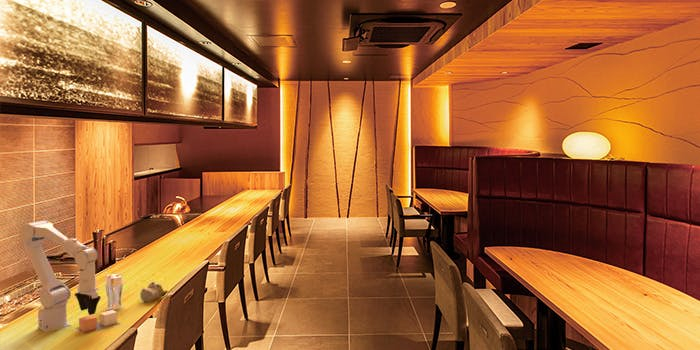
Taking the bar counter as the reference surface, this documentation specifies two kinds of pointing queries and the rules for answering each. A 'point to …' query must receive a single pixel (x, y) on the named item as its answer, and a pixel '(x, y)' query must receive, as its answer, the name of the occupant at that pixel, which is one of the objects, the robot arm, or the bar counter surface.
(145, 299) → the ceramic sculpture
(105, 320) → the cream block
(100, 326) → the baseplate
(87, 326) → the terracotta block
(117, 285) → the beer glass
